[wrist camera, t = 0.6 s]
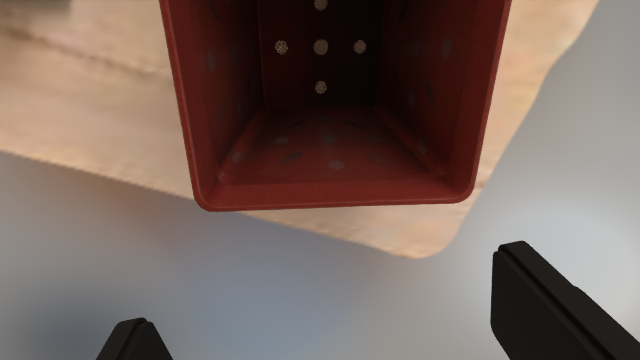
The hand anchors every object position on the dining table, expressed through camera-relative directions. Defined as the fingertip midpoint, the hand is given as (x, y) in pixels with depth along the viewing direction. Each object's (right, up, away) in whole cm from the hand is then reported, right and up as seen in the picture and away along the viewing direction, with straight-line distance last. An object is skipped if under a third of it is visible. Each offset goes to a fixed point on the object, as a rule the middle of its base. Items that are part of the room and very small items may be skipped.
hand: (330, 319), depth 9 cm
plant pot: (0, +17, +25) cm, 31 cm away
